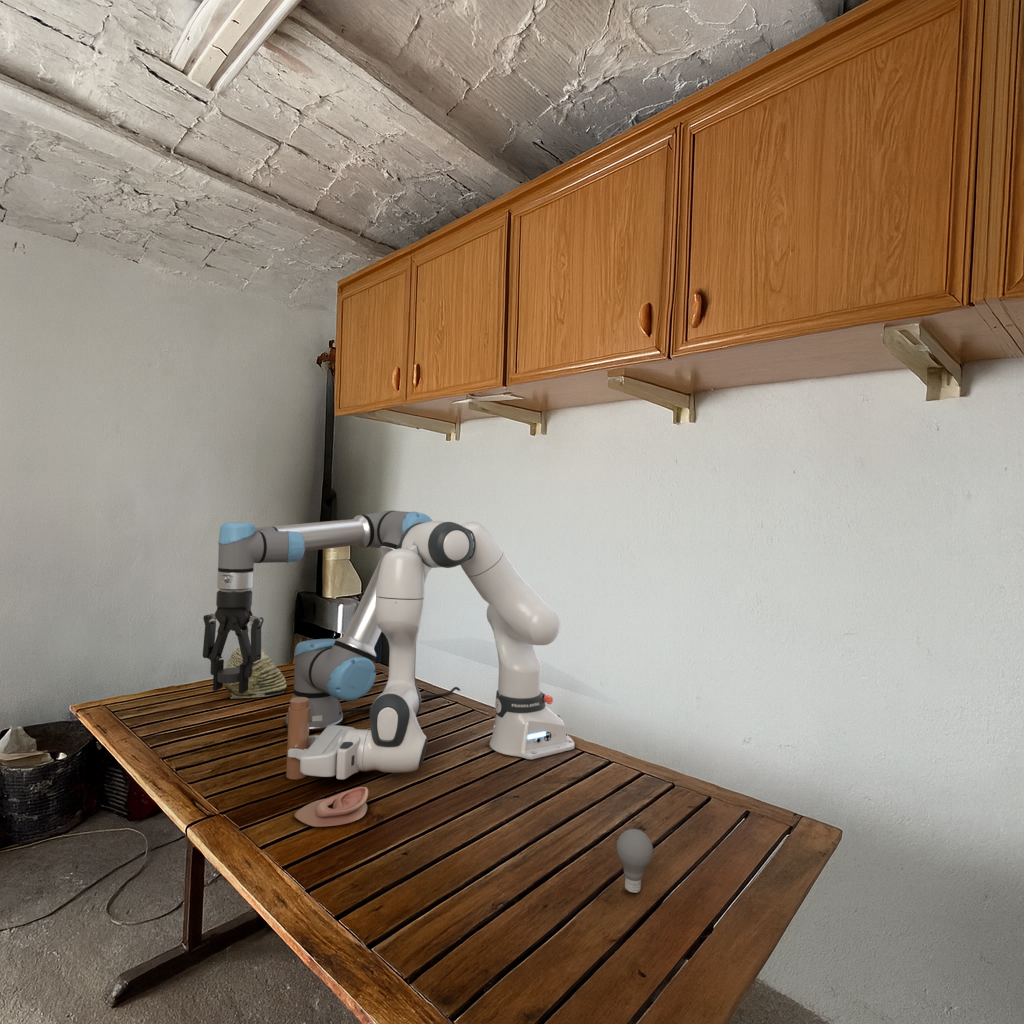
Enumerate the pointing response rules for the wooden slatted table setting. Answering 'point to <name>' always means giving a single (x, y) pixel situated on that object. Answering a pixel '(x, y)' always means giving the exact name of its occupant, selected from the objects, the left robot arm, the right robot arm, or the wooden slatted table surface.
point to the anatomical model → (335, 809)
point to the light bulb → (634, 857)
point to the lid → (228, 675)
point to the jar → (297, 733)
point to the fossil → (257, 677)
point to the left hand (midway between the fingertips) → (230, 690)
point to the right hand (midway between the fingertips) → (293, 746)
